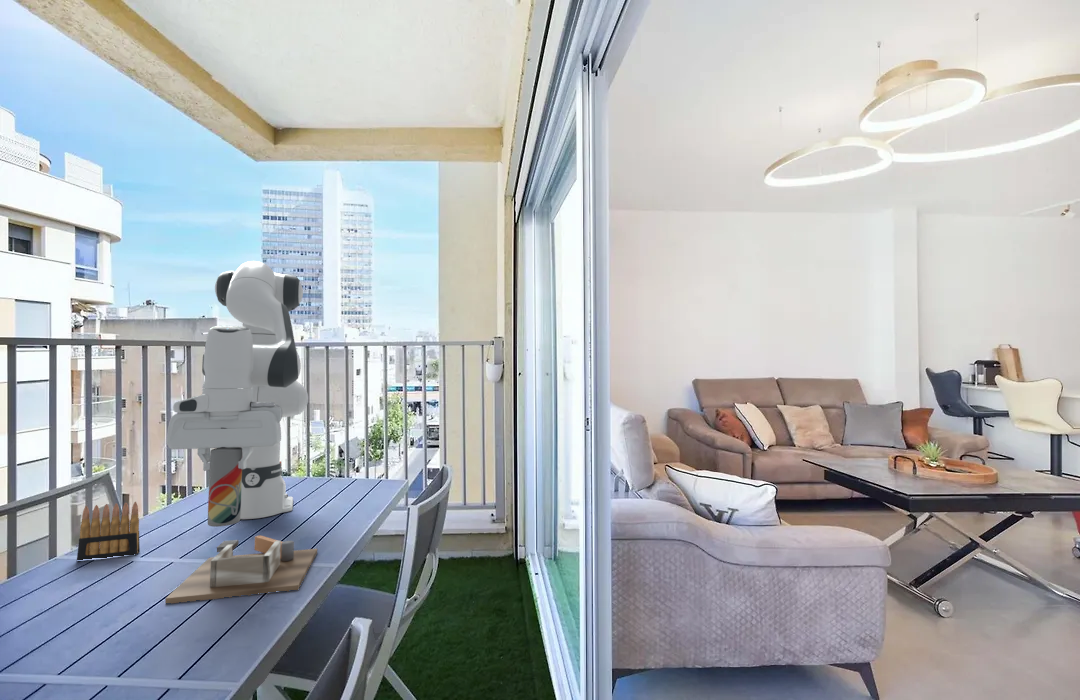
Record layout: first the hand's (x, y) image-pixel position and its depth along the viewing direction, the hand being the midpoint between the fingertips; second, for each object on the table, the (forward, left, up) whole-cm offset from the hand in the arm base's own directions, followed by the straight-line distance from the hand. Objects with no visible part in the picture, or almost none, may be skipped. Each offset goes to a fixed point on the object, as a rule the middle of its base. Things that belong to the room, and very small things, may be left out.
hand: (225, 469), depth 101 cm
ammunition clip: (-19, -29, -22) cm, 41 cm away
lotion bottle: (0, 0, -11) cm, 11 cm away
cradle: (0, +5, -22) cm, 22 cm away
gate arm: (-7, +8, -21) cm, 23 cm away
